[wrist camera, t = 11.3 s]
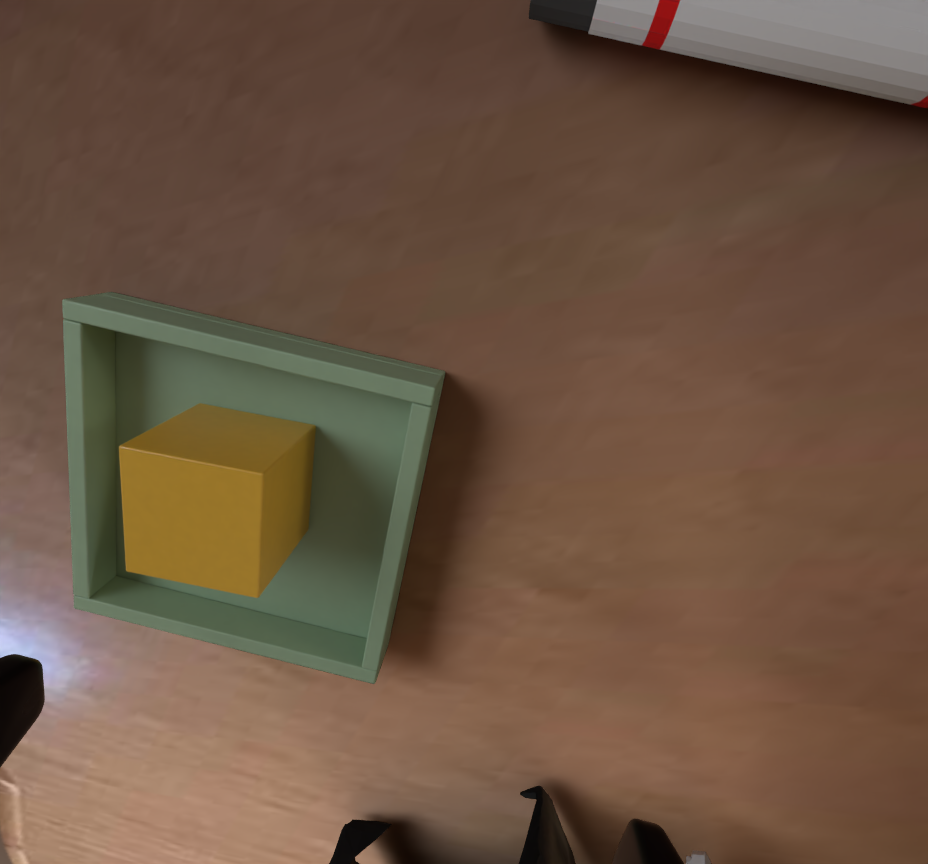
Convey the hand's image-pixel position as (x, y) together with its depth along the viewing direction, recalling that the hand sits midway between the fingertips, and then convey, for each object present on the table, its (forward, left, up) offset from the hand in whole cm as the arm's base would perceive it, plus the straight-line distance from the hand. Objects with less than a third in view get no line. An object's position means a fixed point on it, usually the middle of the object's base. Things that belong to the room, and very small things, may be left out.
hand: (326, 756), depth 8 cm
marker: (+13, -8, -12) cm, 19 cm away
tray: (-3, +6, -12) cm, 13 cm away
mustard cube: (-2, +6, -11) cm, 13 cm away
